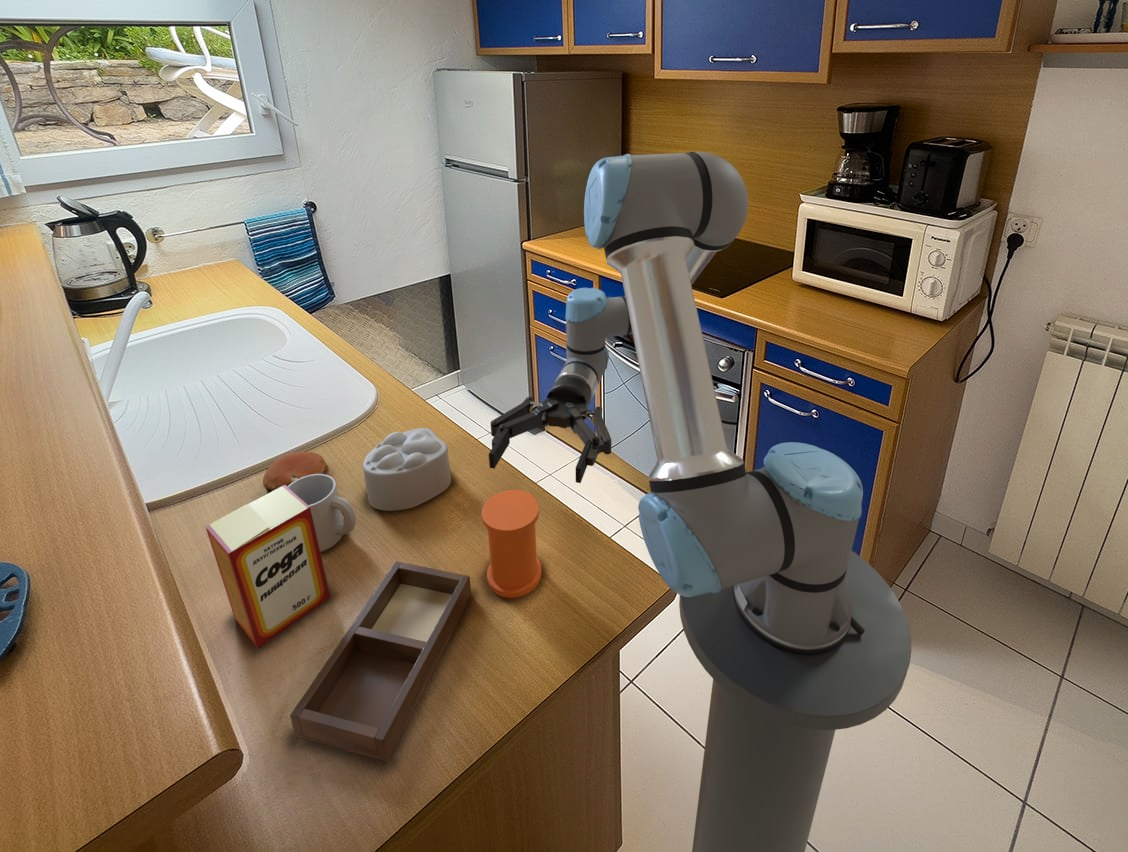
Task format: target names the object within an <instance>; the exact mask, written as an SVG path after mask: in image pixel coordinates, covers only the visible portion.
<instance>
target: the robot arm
mask: <svg viewBox="0 0 1128 852" xmlns="http://www.w3.org/2000/svg"><path fill="white" fill-rule="evenodd" d="M748 212H749V195H748V190H747V187H746V183H745V181H744V180H743V178H742V176H741V174H740V173H739V171H738V170H737V168H735V167H734V166H733V165H732V164H731V163H730V162H729V161H727V160H726V159H724V158H723V157H721V156H719V155H717V154H713V153H711V152H705V151H690V152H675V153H674V152H672V153H653V154H652V153H651V154H650V153H649V154H630V153H626V154H623V155H617V156H607V157H603V158H601V159H599V160H598V161H596V163H595V164H593V166H592V167H591V170H590V172H589V175H588V179H587V182H586V187H585V193H584V203H583V222H584V232H585V236H586V239H587V240H588V241H587V242H588V244H589V246H591V247H592V248H593V249H597V250H602V249H603V250H604V255H605V260H606V264H607V265H608V266H609V267H610V268H612V269H614V270H616V271H617V272H618V273H619V274H620V276H621V281H622V287H623V290H624V291H623V292H624V295H622V296H614V297H607V295H606V293H605V292H604V291H603V290H601V289H599V288H596V287H590V288H589V287H579V288H576V289H574V290H572V291H570V293H568V295H567V296H566V303H565V315H564V316H565V317H564V318H565V332H566V333H565V335H566V346H565V347H566V348H565V349H566V351H565V354H566V355H565V356H566V357H565V359H566V360H565V363H564V365H563V367H562V369H561V370H560V372H559V374H558V375H557V377H556V379H555V380H554V382H553V384H552V386H551V388H550V390H549V391H548V393H547V395H546V398H545V399H544V400H542V401H541V402H538V401H534V397H532V396H527V397H525V399H524V400H523V402H522V403H520V404H518V405H516V406H515V407H513V408H511V409H509V410H508V411H506V412H504V413H503V414H500V415H498V416H497V417H495V418H493V419H492V420H491V421H490V434H491V437H493V438H492V439H491V448H490V451H489V452H488V463H489V469H493V470H495V469H496V467H497V465H498V464H499V462H500V460H501V459H502V457H503V456H504V453H505V452H506V450H507V448H508V447H509V445H510V443H511V441H510V439H512V438H515V437H518V436H519V435H523V434H524V433H527V432H530V431H532V430H534V429H536V428H539V429H543V428H545V427H547V426H549V427H558V428H560V429H567V428H570V430H571V431H572V433H573V434H576V435H577V437H578V438H579V439H580V440H581V441H582V443H583V444H584V446H583V449H582V450H581V453H580V456H579V458H578V461H577V463H576V465H575V483H577V484H581V483H582V481H583V478H584V475H585V473H586V470H587V468H588V467H593V466H594V465H595V463H596V461H597V458H598V455H600V454H601V453H603V454H604V455H611V453H612V437H611V434H610V433H609V430H608V427H607V425H606V423H605V420H604V417H603V407H602V406H596V407H595V408H594V410H593V409H589V408H590V406H591V403H592V400H593V398H594V396H595V394H596V391H597V389H598V386H599V384H600V382H601V380H602V378H603V376H604V374H605V373H606V370H607V369H608V363H609V360H610V353H609V350H608V348H607V346H606V339H607V338H614V337H621V336H627V335H632V338H633V341H634V343H633V344H634V347H635V353H636V358H637V363H638V369H639V372H640V379H641V383H642V388H643V394H644V399H645V404H646V410H647V413H648V419H649V423H650V429H651V434H652V439H653V444H654V449H655V454H656V462H655V464H654V467H653V468H652V469H651V471H650V472H649V474H648V476H647V479H648V484H649V489H650V492H649V493H646V494H644V496H642V497H641V498H640V500H639V502H638V506H637V509H638V522H639V526H640V530H641V534H642V538H643V541H644V545H645V547H646V550H647V552H648V554H649V557H650V559H651V561H652V563H653V565H654V567H655V568H656V569H655V570H656V571H657V572H658V574H659V575H660V577H661V580H663V582H664V583H665V584H666V586H668V588H669V589H670V590H672V591H673V592H674V593H675V594H677V595H678V596H680V595H681V596H684V597H693V596H697V595H701V594H706V593H710V592H711V593H717V592H720V591H721V589H724V588H728V587H731V586H734V588H733V596H734V602H735V605H736V608H737V610H738V612H739V615H740V616H741V618H742V619H743V621H744V622H745V624H746V625H747V626H748V627H749V628H750V629H751V630H752V631H753V632H754V633H755V634H756V635H757V636H758V637H760V638H761V639H762V640H764V641H765V642H767V643H768V644H770V645H772V646H774V647H776V648H778V649H781V650H783V651H786V652H790V653H794V654H799V655H818V654H823V653H826V652H829V651H831V650H833V649H835V648H836V647H838V646H839V645H840V644H841V643H842V642H843V641H844V640H845V638H846V637H847V635H848V632H849V629H850V626H851V627H852V628H853V629H854V630H855V631H856V632H857V633H858V634H859V635H862V634H863V633H864V629H863V628H862V627H861V626H860V625H859V624H858V623H857V622H856V621H855V619H854V618H853V617H852V616H853V608H852V600H851V595H850V590H849V585H848V580H847V576H846V571H847V567H848V563H849V559H850V555H851V551H853V546H854V542H855V538H856V534H857V530H858V526H859V522H860V518H861V517H862V513H863V507H862V504H863V503H862V502H863V496H864V488H863V484H862V480H861V479H860V477H859V474H857V472H856V471H855V470H854V469H853V468H852V467H851V466H850V465H849V464H848V463H847V462H846V461H845V460H844V459H842V458H841V457H840V456H838V455H836V454H835V453H832V452H830V451H828V450H826V449H824V448H821V447H819V446H816V445H812V444H809V443H804V442H795V441H790V442H789V441H788V442H781V443H777V444H775V445H774V446H772V447H771V448H770V449H769V450H768V452H767V453H766V455H765V457H764V458H763V467H761V468H759V469H753V470H750V471H747V470H746V465H745V461H744V458H742V457H740V456H739V455H737V454H736V453H734V452H733V451H732V450H731V449H730V448H729V447H728V443H727V439H726V435H725V431H724V426H723V422H722V421H723V420H722V417H721V412H720V407H719V403H718V400H717V395H716V394H717V393H716V390H715V386H714V381H713V376H712V372H711V368H710V364H709V363H710V362H709V358H708V354H707V350H706V344H705V339H704V336H703V332H702V327H701V323H700V318H699V313H698V308H697V304H696V300H695V296H694V295H695V294H694V291H693V287H692V286H693V284H694V283H695V281H696V280H697V279H698V277H699V276H700V275H701V273H702V272H703V271H704V269H705V268H706V267H707V266H708V264H709V263H710V261H711V260H712V259H713V257H714V256H715V255H716V253H717V252H720V251H724V250H725V249H727V248H728V247H730V245H732V244H733V242H734V241H735V239H736V238H737V237H738V235H739V234H740V233H741V231H742V229H743V228H744V225H745V223H746V220H747V217H748V214H749V213H748ZM586 419H589V420H590V422H591V424H592V425H593V427H594V430H595V432H594V431H593V430H592V429H591V428H590V427H589V425H588V424H587V422H586V421H585V420H586ZM595 433H596V434H595Z"/></svg>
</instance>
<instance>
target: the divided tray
mask: <svg viewBox="0 0 1128 852" xmlns="http://www.w3.org/2000/svg"><path fill="white" fill-rule="evenodd" d="M471 598H472V587H471V577H470V576H469V575H465V574H461V573H457V572H456V573H455V572H451V571H446V570H442V569H441V570H440V569H436V568H432V567H427V566H421V565H418V564H417V565H416V564H412V563H406V562H402V561H397V560H396V561H394V563H393V564H392V566H391V567H390V569H389V570H388V571H387V572H386V574H385V576H384V577H383V579H382V580H381V581H380V583H379V585H378V586H377V588H376V589H375V590H374V592H373V593H372V594H371V596H370V598H369V600H368V601H367V602H366V603H365V605H364V607H363V608H362V610H361V611H360V613H359V614H358V616H357V617H356V618H355V620H354V621H353V623H352V624H351V626H350V627H349V628H348V629H347V631H346V633H345V634H344V636H343V637H342V639H341V640H340V642H339V643H338V645H337V646H336V647H335V649H334V651H332V653H331V655H330V656H329V658H328V659H327V661H326V662H325V663H324V665H323V667H322V668H321V669H320V671H319V672H318V674H317V675H316V676H315V678H314V680H313V681H312V683H311V684H310V685H309V687H308V688H307V689H306V691H305V693H304V694H303V696H302V697H301V698H300V700H299V702H298V703H297V705H296V706H295V707H294V709H293V710H292V712H291V713H290V715H289V717H290V721H291V724H292V727H293V730H294V735H295V737H296V738H299V739H303V740H306V741H310V742H313V743H318V744H321V745H325V746H328V747H331V748H335V749H339V750H342V751H346V752H350V753H353V754H357V755H360V756H365V757H367V758H370V759H371V758H372V759H375V760H378V761H383V762H385V763H388V761H389V760H390V758H391V756H392V754H393V752H394V750H395V748H396V746H397V744H398V742H399V740H400V738H401V737H402V734H403V732H404V730H405V728H406V726H407V724H408V722H409V720H410V718H411V716H412V714H413V712H414V711H415V708H416V706H417V704H418V702H419V700H420V699H421V696H422V695H423V692H424V691H425V688H426V686H427V684H428V682H429V681H430V678H432V677H431V676H432V675H433V673H434V671H435V669H436V667H437V665H438V663H439V660H441V657H442V655H443V653H444V650H445V649H446V647H447V645H448V643H449V641H450V639H451V637H452V635H453V633H454V631H455V628H456V627H457V625H458V623H459V621H460V620H461V617H462V615H463V614H464V612H465V609H466V607H467V605H468V603H469V601H470V599H471Z"/></svg>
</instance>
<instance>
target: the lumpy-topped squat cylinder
mask: <svg viewBox="0 0 1128 852" xmlns="http://www.w3.org/2000/svg"><path fill="white" fill-rule="evenodd" d="M362 470H363V475H364V482H365V488H366V495H367V499H368V504H369V505H370V506H371V507H372V508H373V509H376V510H380V511H384V512H385V511H386V512H392V511H402V510H408V509H411V508H414V507H417V506H419V505H421V504H424V503H425V502H428V501H431V499H433V498H435V497H437V496H438V495H440V494H442V493H443V492H444V491H446V490H447V489H448V488H449V487H450V485H451V483H452V476H451V467H450V457H449V449H448V445H447V443H446V442H445V441H444V440H442V439H441V438H439V437H437V434H436V433H435V431H433V430H432V429H431V428H427V427H418V428H413V429H410V430H406V431H404V432H402V431H395V432H391V433H390V434H388V435H387V436H386V437H385V438H384V440H383V441H382V442H379V443H378V444H377V445H376V446H375V447H374V448H372V450H370V452H369V453H368V454H367V455H366V456H365V458H364V460H363V463H362Z"/></svg>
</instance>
